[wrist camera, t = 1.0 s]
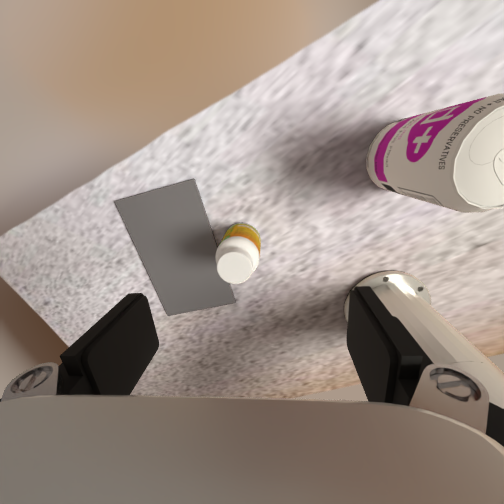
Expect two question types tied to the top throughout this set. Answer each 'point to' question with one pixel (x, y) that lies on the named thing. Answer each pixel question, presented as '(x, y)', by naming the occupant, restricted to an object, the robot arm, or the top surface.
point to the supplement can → (445, 156)
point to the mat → (176, 247)
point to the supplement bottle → (238, 253)
